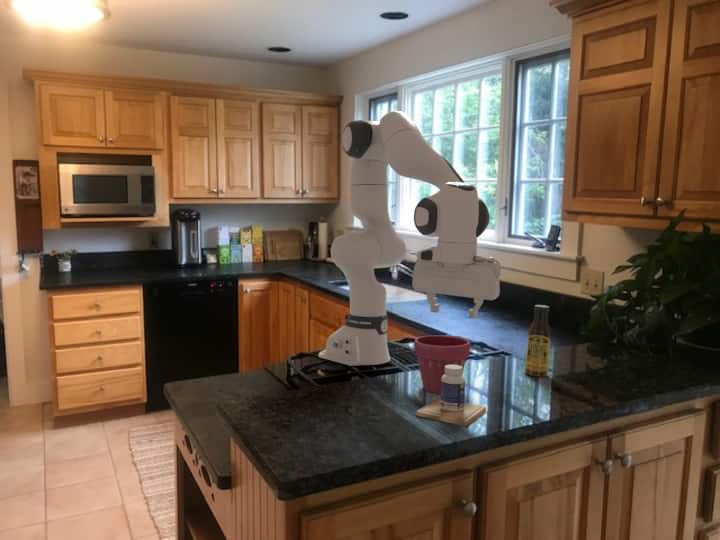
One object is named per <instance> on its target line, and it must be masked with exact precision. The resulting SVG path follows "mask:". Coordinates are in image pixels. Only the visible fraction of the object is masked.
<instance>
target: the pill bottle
mask: <svg viewBox="0 0 720 540" xmlns="http://www.w3.org/2000/svg"><path fill="white" fill-rule="evenodd" d="M462 370H463V371H464V369H463V368H462V366H459V365H446V366H445V373H446V374H445V375H443V376H442V378H441V393H440V398H441V408H442V409H443V410H446V411H452V412H458V411H462V410H463V409H464V403H465V399H466V398H465V397H466V396H465V395H466V390H465V389H466V378H465V376H464V375H463V373H462ZM461 374H462V375H461Z"/></svg>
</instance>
